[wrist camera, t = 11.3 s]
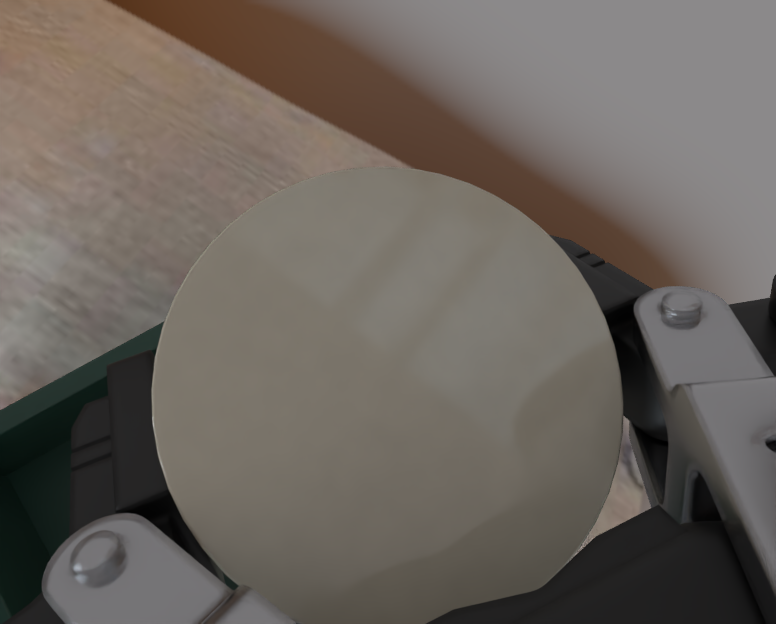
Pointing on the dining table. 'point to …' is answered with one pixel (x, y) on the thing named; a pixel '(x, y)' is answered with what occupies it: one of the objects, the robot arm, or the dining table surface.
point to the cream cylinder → (386, 399)
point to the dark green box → (46, 472)
